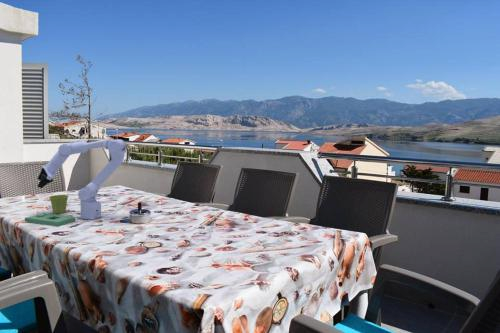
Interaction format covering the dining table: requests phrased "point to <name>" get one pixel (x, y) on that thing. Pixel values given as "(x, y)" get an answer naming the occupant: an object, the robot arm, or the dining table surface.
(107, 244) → the dining table surface
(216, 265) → the dining table surface
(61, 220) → the putting mat
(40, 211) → the ball
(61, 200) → the plant pot
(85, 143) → the robot arm
